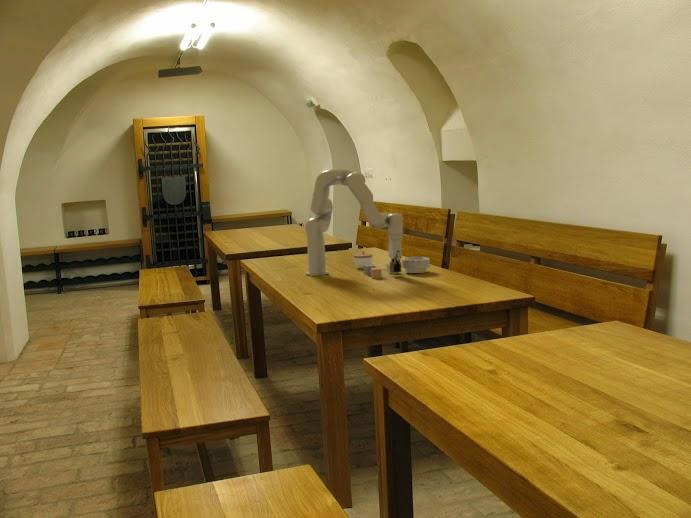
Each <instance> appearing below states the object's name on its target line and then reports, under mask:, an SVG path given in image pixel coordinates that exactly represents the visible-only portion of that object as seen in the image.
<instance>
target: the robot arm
mask: <svg viewBox="0 0 691 518" xmlns="http://www.w3.org/2000/svg"><path fill="white" fill-rule="evenodd" d="M337 185H340V186H345V187H346V186H347V188H348V189H349V191H350V192H351V193H352V194H353V196H354V197H355V199H356V201H358V203H359V204H360V208H361V211H362V212H363V214H364V216H365V218H366V219H367V220H368V222H369V223H370V225H372V226H373V228H375V229H382V228H385V227H388V254H387V255H388V258H390V262H395V264H394V272H398V273H401V272H400V262H401V261H402V256H403V255H402V254H403V253H402V252H403V249H402V248H403V247H402V241H403V240H404V239H403V236H404V234H403V233H404V230H403V228H404V226H403V225H404V223H403V222H404V221H403V220H404V219H403V214H402V213H389V212H380V211H379V210H378V208H377V206H376V204H375V202H374V194H373V192H372V191H371V189H370V188H369V187H368V186H367V184H366V178H365V176H364V174H362V173H361V172H358V171H352V170H347V169H342V168H332V169H327V170H323V171H322V172H320V173H319V174H318V176H317V177H316V178H315V183H314V187H313V188H314V189H313V194H312V198H311V204H310V211H311V213H312V214H313V215H314V216H313V217H310V218H309V219H308V220H307V221H306V223H305V227H304V228H305V229H304V230H305V233H306V234H305V235H306V242H307V243H306V244H307V264H308V269H307V270H308V271H306V272H305V275H306V276H309V275H310V276H311V277H312V276H313V277H315V276H316V277H318V276H319V275H321V276H327V275H329V271H328V270H326V269H327V268H326V247H325V245H326V244H325V237H324V233H325V232H327V230H329V229H330V225H331V224H330V223H331V219H332V215H333V209H334V206H333V202H332V200H331V199H330V198H329V196H330V191H331V190H330V187H331V186H337ZM326 274H327V275H326ZM319 277H320V276H319Z"/></svg>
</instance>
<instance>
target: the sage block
mask: <svg viewBox="0 0 691 518" xmlns="http://www.w3.org/2000/svg"><path fill="white" fill-rule="evenodd" d="M385 266H386V273H387V272H388V273H387V274H389V273H394V274H399V272H391V271H390V262H389V263H386V264H385Z"/></svg>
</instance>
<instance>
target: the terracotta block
mask: <svg viewBox="0 0 691 518" xmlns="http://www.w3.org/2000/svg"><path fill="white" fill-rule="evenodd" d="M382 275H383V274H382V268H381V267H375V268H371V275H370V277H371V279H372V278H377V279H383V278H382V277H383V276H382Z"/></svg>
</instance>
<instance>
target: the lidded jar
mask: <svg viewBox="0 0 691 518" xmlns="http://www.w3.org/2000/svg"><path fill="white" fill-rule="evenodd" d="M373 256H374V255H373V254H372V253H370V252H369V253H365V251H362V252H361V253H356V254H354V255H353V257H354V258H353V259H354V264H355V266H356V267H357V268H358V269H359V268H361V269H362V268H363V265H373V264H372V263H373ZM361 269H360V270H361ZM362 270H363V269H362Z"/></svg>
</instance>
